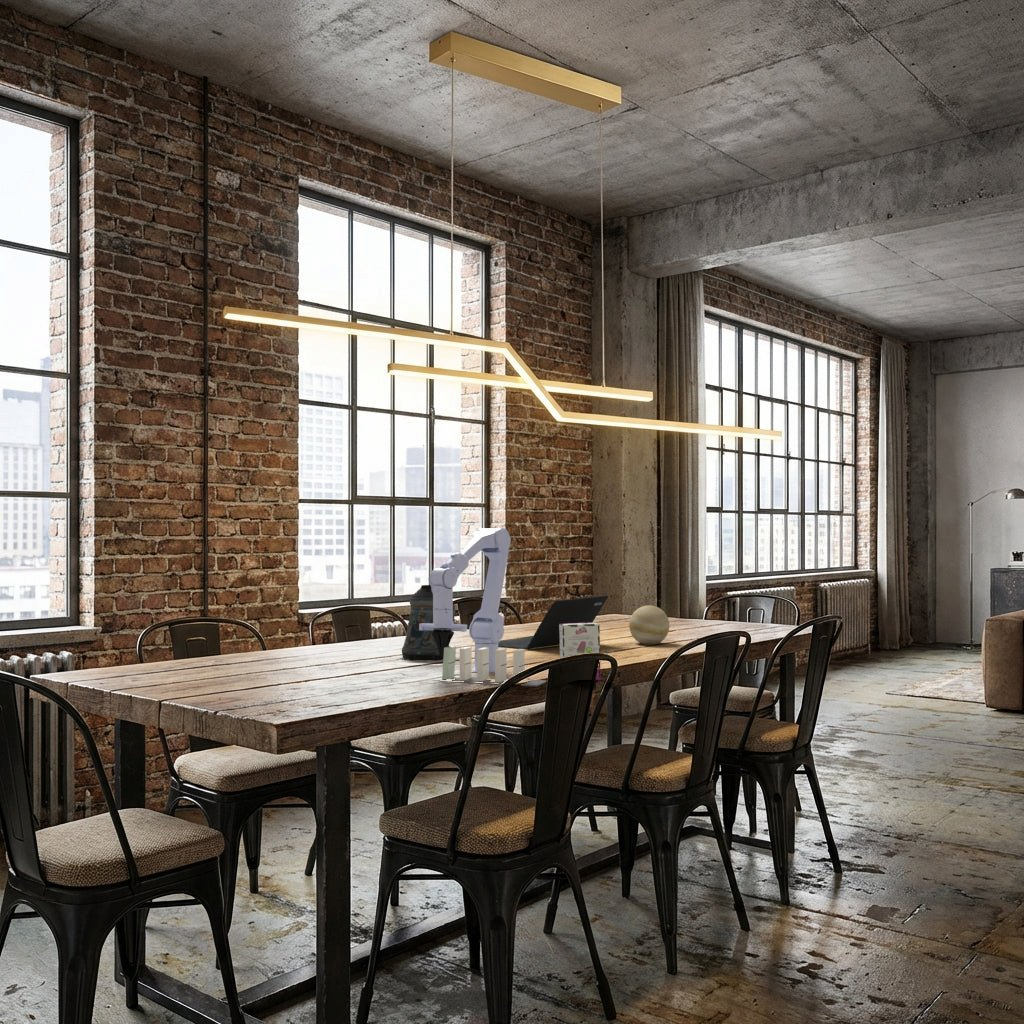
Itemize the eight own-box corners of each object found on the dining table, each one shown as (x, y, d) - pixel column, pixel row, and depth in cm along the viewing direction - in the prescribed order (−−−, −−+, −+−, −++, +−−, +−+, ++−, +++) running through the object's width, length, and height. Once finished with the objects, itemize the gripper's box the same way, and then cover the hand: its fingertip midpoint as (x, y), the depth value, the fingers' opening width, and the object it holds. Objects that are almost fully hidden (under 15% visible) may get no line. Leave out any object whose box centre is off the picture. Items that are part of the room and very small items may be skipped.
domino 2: (477, 680, 295) (477, 649, 296) (483, 678, 300) (483, 647, 300) (482, 681, 295) (482, 649, 295) (489, 678, 299) (488, 647, 300)
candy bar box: (596, 678, 303) (595, 622, 303) (600, 680, 298) (600, 623, 298) (559, 679, 301) (558, 623, 301) (563, 681, 296) (563, 624, 296)
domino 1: (459, 679, 297) (459, 648, 297) (466, 677, 302) (466, 646, 302) (464, 680, 297) (464, 648, 297) (471, 677, 301) (471, 646, 302)
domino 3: (495, 681, 293) (495, 650, 294) (501, 679, 298) (501, 648, 298) (500, 682, 293) (500, 650, 293) (506, 679, 298) (506, 648, 298)
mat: (419, 680, 299) (419, 678, 299) (432, 676, 308) (432, 674, 308) (537, 686, 287) (537, 685, 287) (547, 682, 295) (547, 680, 295)
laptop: (532, 640, 411) (531, 591, 411) (609, 647, 386) (609, 595, 386) (475, 647, 385) (475, 595, 386) (554, 655, 361) (554, 600, 361)
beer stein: (393, 662, 342) (393, 586, 342) (416, 655, 360) (416, 583, 361) (440, 663, 337) (440, 587, 337) (460, 656, 356) (460, 584, 356)
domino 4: (513, 682, 291) (513, 650, 292) (519, 680, 296) (519, 648, 296) (518, 683, 291) (518, 650, 291) (524, 680, 296) (524, 649, 296)
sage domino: (442, 678, 299) (444, 647, 299) (449, 676, 304) (451, 645, 304) (447, 679, 299) (449, 648, 299) (454, 676, 303) (456, 646, 303)
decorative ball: (648, 642, 400) (647, 603, 400) (677, 645, 388) (677, 605, 388) (621, 645, 390) (620, 605, 390) (650, 648, 378) (650, 607, 379)
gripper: (414, 609, 301) (414, 656, 301) (460, 610, 296) (460, 658, 296) (425, 607, 308) (425, 653, 307) (469, 609, 302) (469, 655, 302)
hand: (443, 655), depth 302 cm, fingers closed
